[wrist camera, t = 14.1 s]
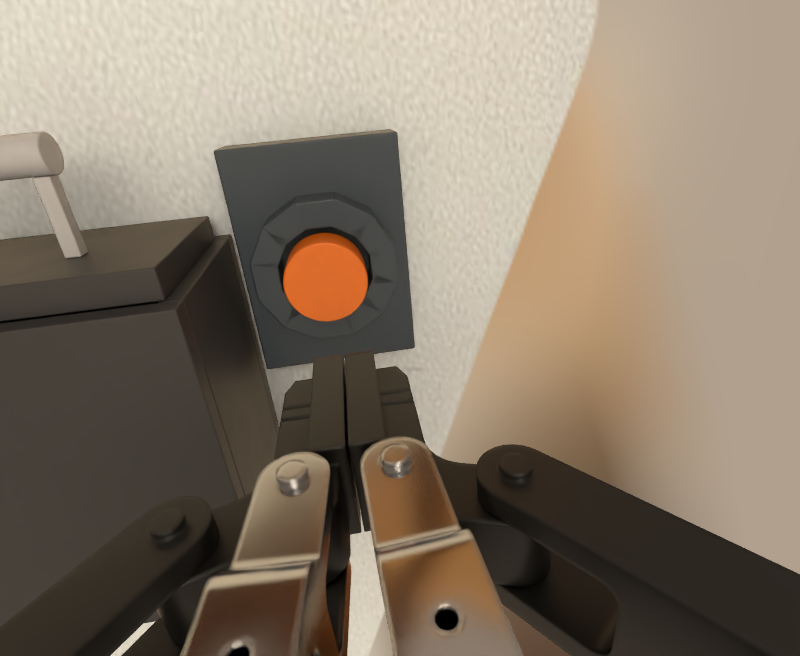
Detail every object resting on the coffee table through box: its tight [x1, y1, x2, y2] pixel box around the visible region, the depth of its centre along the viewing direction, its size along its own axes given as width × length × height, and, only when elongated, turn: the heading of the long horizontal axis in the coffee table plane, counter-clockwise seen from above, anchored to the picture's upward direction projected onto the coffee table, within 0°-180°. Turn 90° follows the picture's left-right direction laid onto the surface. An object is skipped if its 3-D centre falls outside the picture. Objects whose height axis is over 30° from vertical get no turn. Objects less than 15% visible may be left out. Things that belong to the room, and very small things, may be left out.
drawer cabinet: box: [0, 235, 279, 627], centre depth 22 cm, size 15×14×10 cm
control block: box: [214, 129, 415, 369], centre depth 23 cm, size 11×8×4 cm
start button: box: [283, 233, 368, 321], centre depth 21 cm, size 4×4×2 cm
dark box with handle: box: [0, 132, 214, 324], centre depth 20 cm, size 18×12×8 cm
